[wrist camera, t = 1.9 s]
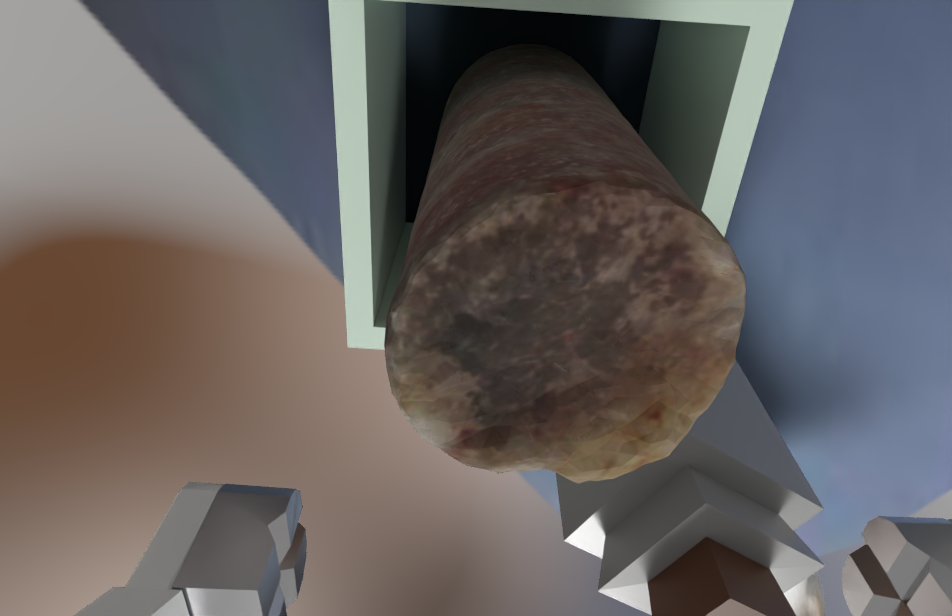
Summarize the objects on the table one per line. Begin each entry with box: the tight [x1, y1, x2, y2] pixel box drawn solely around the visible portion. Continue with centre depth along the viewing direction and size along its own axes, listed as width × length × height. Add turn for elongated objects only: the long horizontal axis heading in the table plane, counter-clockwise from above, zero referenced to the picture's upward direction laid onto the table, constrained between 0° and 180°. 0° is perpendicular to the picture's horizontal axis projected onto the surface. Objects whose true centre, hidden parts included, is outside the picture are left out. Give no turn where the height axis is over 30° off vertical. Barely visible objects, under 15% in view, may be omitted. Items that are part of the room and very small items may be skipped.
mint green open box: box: [328, 0, 794, 350], centre depth 24 cm, size 13×13×10 cm
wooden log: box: [384, 44, 746, 484], centre depth 20 cm, size 8×7×20 cm
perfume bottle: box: [556, 359, 825, 616], centre depth 27 cm, size 7×7×18 cm
